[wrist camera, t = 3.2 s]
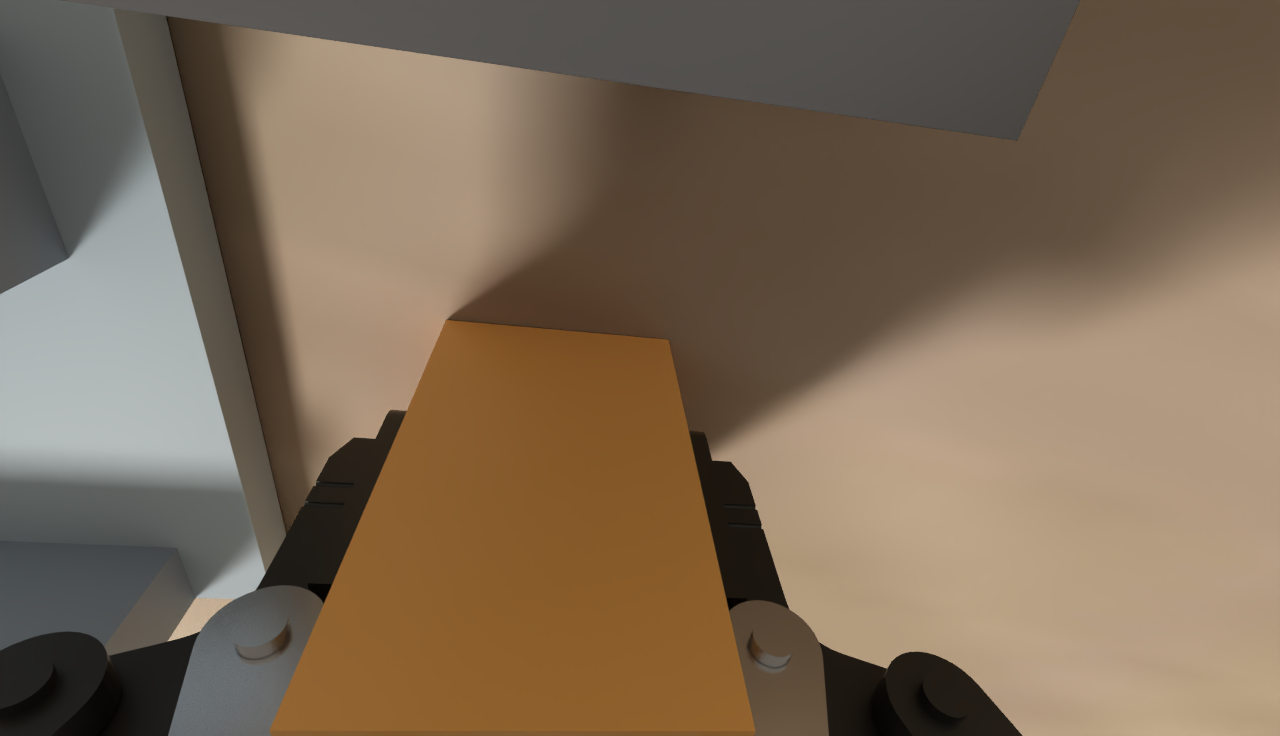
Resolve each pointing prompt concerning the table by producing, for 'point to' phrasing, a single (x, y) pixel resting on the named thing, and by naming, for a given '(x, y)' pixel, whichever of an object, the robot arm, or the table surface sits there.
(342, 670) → the orange plug
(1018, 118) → the black plug
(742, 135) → the table surface
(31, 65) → the comb board
